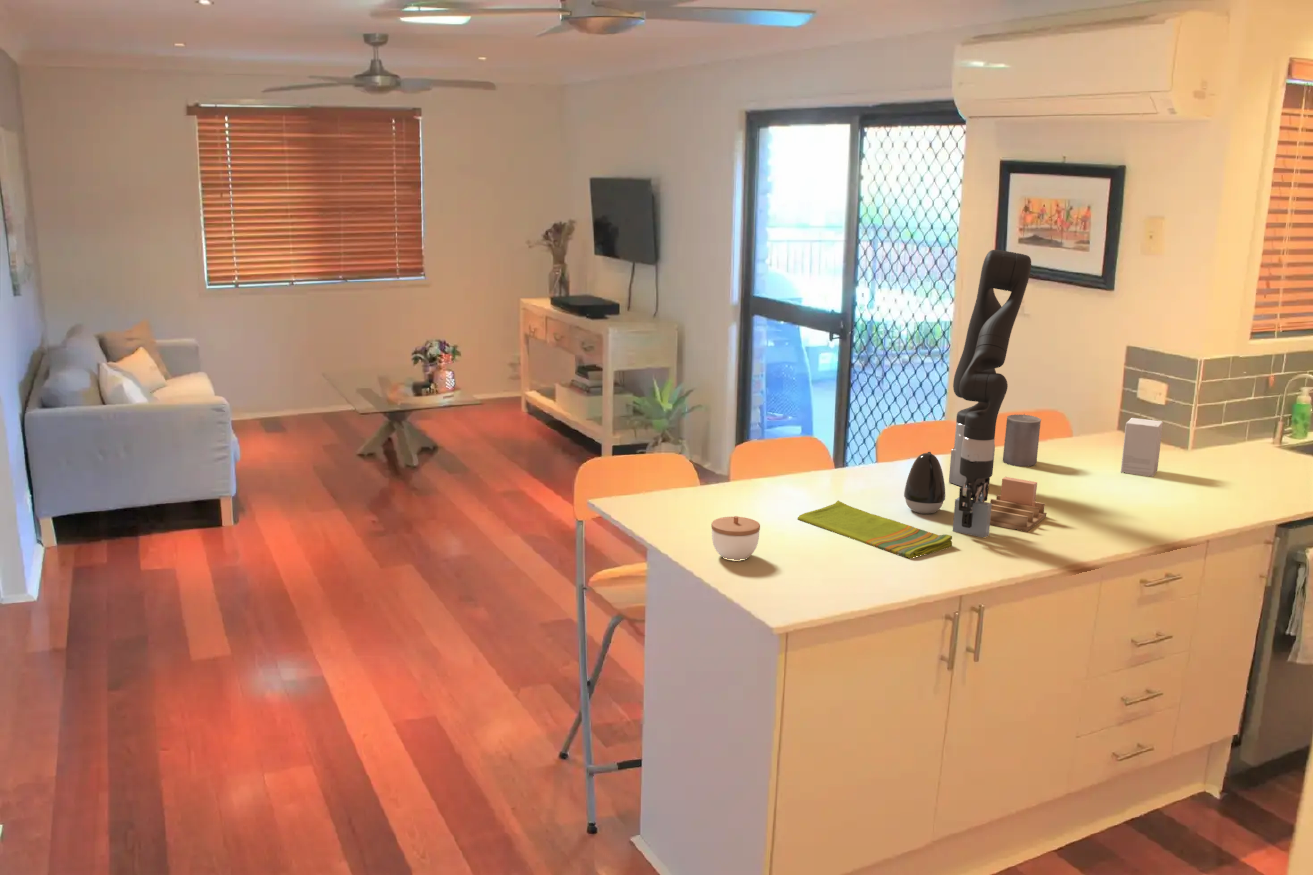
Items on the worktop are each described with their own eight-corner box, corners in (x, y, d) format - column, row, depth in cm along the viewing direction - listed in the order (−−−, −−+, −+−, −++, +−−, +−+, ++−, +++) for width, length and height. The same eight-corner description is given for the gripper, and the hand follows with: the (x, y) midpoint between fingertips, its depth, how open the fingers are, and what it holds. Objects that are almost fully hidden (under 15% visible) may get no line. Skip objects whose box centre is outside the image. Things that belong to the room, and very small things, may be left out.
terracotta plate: (999, 509, 277) (1002, 478, 275) (1002, 506, 279) (1005, 476, 277) (1031, 515, 273) (1034, 484, 271) (1034, 512, 275) (1037, 482, 273)
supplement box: (1158, 470, 320) (1164, 420, 316) (1153, 477, 313) (1159, 426, 309) (1125, 465, 325) (1131, 416, 321) (1119, 472, 317) (1125, 422, 314)
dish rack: (974, 521, 270) (975, 507, 269) (995, 507, 282) (996, 494, 281) (1027, 531, 263) (1028, 518, 262) (1046, 516, 275) (1047, 503, 274)
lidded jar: (707, 549, 248) (708, 509, 245) (754, 548, 249) (755, 509, 246) (714, 565, 237) (715, 524, 235) (762, 564, 238) (764, 524, 236)
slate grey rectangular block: (952, 531, 263) (955, 499, 261) (956, 528, 265) (959, 497, 263) (985, 538, 258) (988, 505, 256) (988, 535, 260) (991, 503, 258)
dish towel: (911, 562, 243) (912, 548, 242) (796, 522, 270) (796, 509, 269) (954, 548, 252) (955, 535, 251) (838, 510, 279) (839, 498, 278)
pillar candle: (1000, 457, 332) (1004, 409, 328) (1033, 459, 331) (1038, 410, 327) (1005, 466, 323) (1010, 416, 319) (1039, 467, 321) (1044, 418, 318)
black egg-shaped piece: (945, 507, 281) (950, 450, 278) (942, 518, 272) (946, 459, 268) (905, 503, 285) (909, 446, 281) (900, 514, 275) (904, 456, 272)
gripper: (972, 447, 265) (967, 513, 269) (950, 459, 253) (945, 528, 257) (1003, 452, 260) (997, 519, 264) (982, 464, 249) (976, 534, 253)
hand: (971, 523), depth 261 cm, fingers open, 6 cm apart
